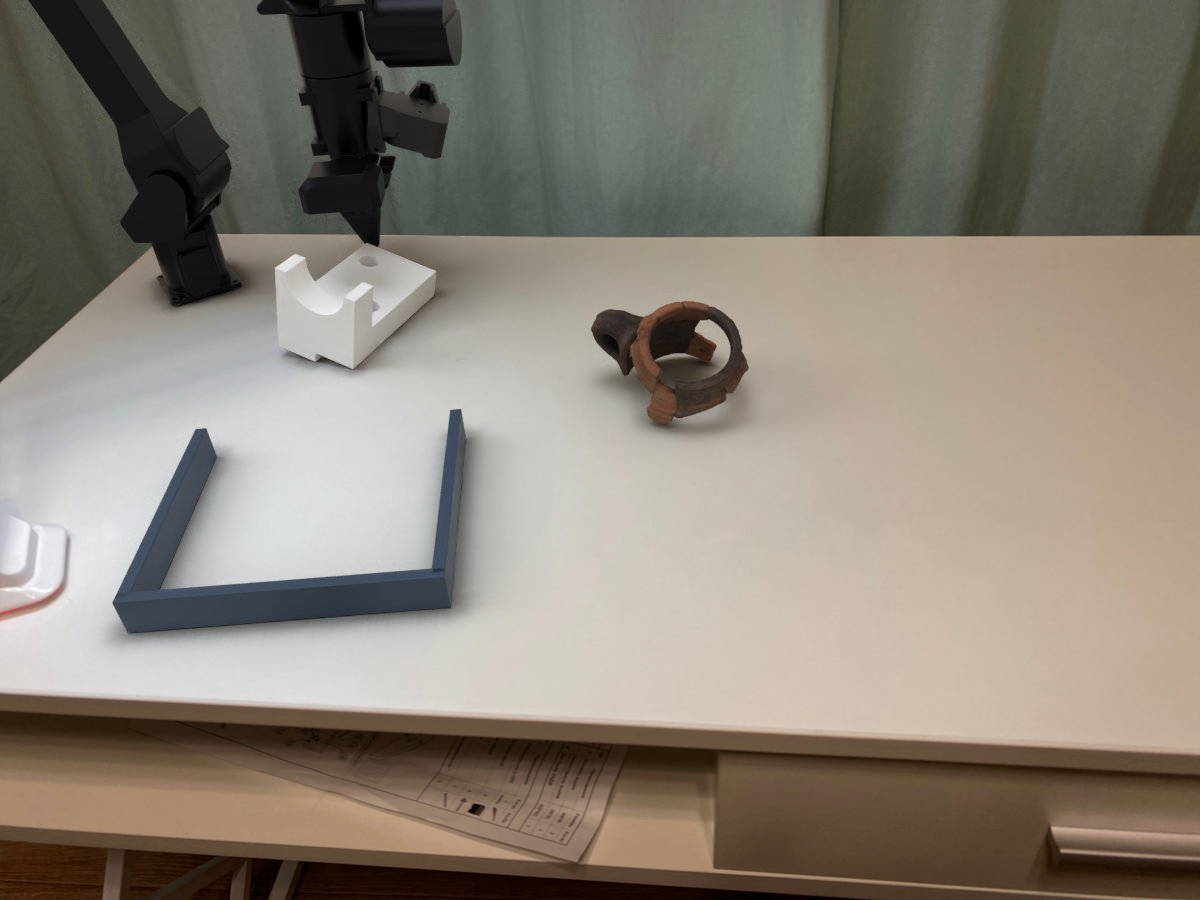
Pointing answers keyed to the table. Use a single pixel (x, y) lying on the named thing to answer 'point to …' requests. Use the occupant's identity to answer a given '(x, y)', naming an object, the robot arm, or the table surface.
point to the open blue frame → (283, 598)
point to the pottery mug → (666, 335)
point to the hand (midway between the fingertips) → (373, 246)
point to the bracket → (348, 303)
